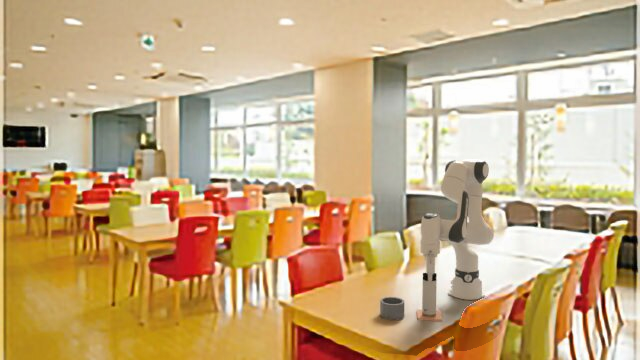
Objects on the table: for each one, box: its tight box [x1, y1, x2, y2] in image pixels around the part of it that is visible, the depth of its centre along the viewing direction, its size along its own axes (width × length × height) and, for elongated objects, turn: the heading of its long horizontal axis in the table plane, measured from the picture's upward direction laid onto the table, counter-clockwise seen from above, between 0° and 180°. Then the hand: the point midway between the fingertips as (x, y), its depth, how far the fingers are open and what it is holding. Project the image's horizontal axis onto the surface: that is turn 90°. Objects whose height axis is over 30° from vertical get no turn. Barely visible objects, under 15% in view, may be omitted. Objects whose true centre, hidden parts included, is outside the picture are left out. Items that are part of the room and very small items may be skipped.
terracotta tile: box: [416, 309, 443, 322], centre depth 213 cm, size 11×11×1 cm
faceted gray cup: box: [379, 296, 405, 321], centre depth 214 cm, size 11×11×7 cm
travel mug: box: [421, 272, 437, 317], centre depth 212 cm, size 6×7×20 cm
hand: (429, 278), depth 212 cm, fingers closed on travel mug, 6 cm apart
